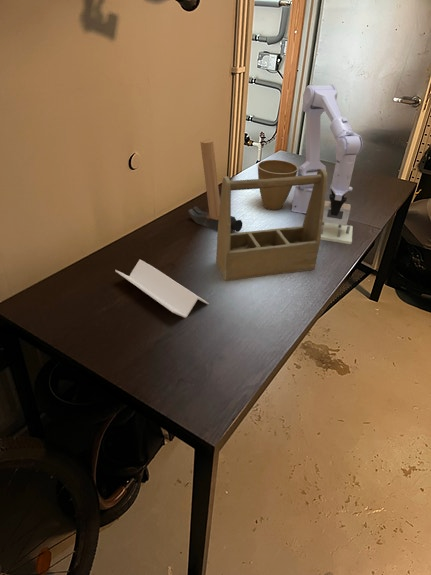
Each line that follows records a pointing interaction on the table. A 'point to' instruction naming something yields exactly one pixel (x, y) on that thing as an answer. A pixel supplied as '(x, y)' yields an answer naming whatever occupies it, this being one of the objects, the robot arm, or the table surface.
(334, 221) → the block
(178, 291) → the z bracket
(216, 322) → the table surface
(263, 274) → the caddy
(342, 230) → the peg board
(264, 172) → the plant pot
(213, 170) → the hammer
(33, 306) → the table surface
